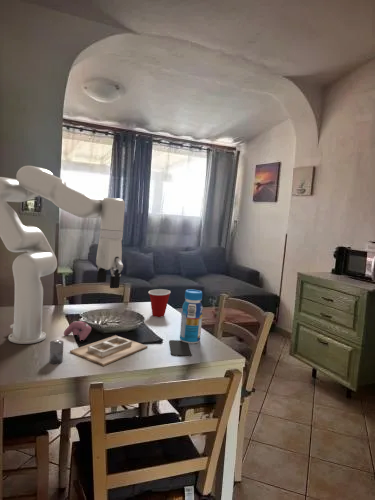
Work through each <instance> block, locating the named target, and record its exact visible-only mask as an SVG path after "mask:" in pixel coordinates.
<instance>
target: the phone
mask: <svg viewBox="0 0 375 500" xmlns="http://www.w3.org/2000/svg"><path fill="white" fill-rule="evenodd" d="M168 343H169V344H168V345H169V351H170V355H171V356H172V357H185V356H190V357H192V355H193V354H192V351H191V348H190V347H191V346H190V343H186V342H183V341H181V340H180V339H179V340H177V339H176V340H175V339H172V340H171V339H170V340H169V341H168Z"/></svg>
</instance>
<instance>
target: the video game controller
mask: <svg viewBox="0 0 375 500" xmlns="http://www.w3.org/2000/svg"><path fill="white" fill-rule="evenodd" d="M91 331H92V327H91V326H90V325H89V324H88V323H87V322H85V321H81V320H78V321H77V320H73V322H71V323H70V324H69V325H68V327H66V328H65V330H64V332H63V335H64V336H65V337H67V336H69V335H70V334H71V333H72V334H73V336H75V335H77V336H78V337H79V341H80V342H82V341H81V340H83V341H85V340H86V339H87V337H88V336H89V335H90V334H91Z"/></svg>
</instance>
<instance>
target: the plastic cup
mask: <svg viewBox="0 0 375 500" xmlns="http://www.w3.org/2000/svg"><path fill="white" fill-rule="evenodd" d="M148 294H149V298H150V307H151V315H152V317H157V318H162V317H165V314H166V311H167V307H168V303H169V299H170V294H171V290H168V289H163V288H159V289H158V288H157V289H151V290H149V291H148Z"/></svg>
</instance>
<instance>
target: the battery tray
mask: <svg viewBox="0 0 375 500" xmlns="http://www.w3.org/2000/svg"><path fill="white" fill-rule="evenodd" d="M147 348H148V345H146V344H143V343H141V342H137V341H134V340H131V339H127V338H125V337H122V336H118V335H116V334H115V335H112V336H109V337H106V338H103V339H101V340H98V341H95V342H92V343H88V344H86V345H82V346H80V347H77V348H74V349H70V350H69V352H70V353H71V354H73V355H76V356H78V357H81V358H84V359H85V360H87V361H90V362H93V363H95V364H98V365H100V366H103V367H105V366H106V365H109V364H111V363H114V362H115V361H119V360H122V359H123V358H125V357H126V358H127V357H128V356H131V355H133V354H136V353H138V352H140V351H143V350H145V349H147Z"/></svg>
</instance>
